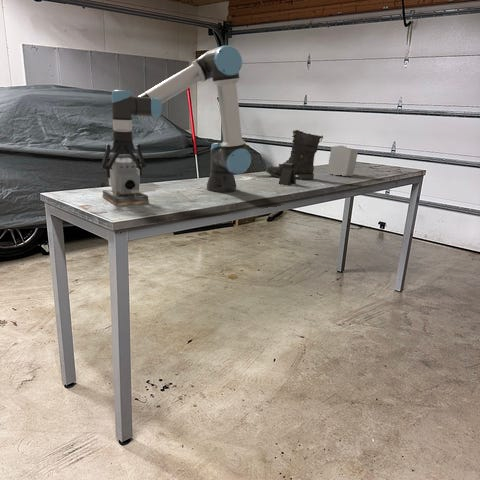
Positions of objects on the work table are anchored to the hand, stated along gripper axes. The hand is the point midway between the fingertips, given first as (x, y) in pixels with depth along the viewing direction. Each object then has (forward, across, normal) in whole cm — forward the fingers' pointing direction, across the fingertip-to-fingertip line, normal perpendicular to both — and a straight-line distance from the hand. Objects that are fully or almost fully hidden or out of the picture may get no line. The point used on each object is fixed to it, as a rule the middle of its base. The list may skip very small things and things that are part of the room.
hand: (124, 184), depth 172 cm
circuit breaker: (+5, 0, 0) cm, 5 cm away
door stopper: (+7, -97, -9) cm, 98 cm away
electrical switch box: (+7, -159, -25) cm, 161 cm away
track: (+6, 0, 0) cm, 6 cm away
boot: (+7, -115, -27) cm, 118 cm away
